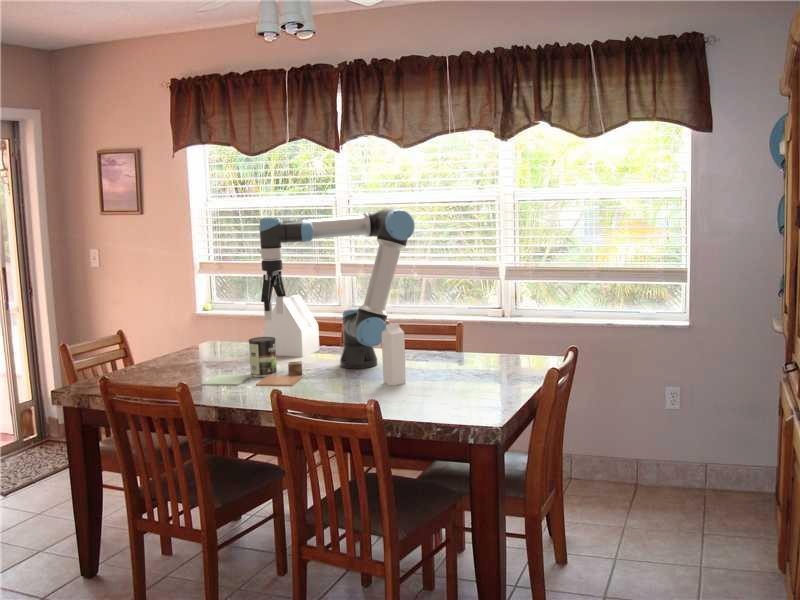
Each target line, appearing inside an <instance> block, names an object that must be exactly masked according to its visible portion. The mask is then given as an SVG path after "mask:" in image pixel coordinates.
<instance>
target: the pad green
mask: <svg viewBox="0 0 800 600" xmlns="http://www.w3.org/2000/svg"><path fill="white" fill-rule="evenodd" d="M251 377H252V376H251V374H249V375H248V374H216V375H214V376H212V377H211V378H209V379H207V380H206V381H204V382H203V383H202V384H201V385H202V386H239V385H241V384H243V383H244V382H245V381H246V380H248V379H250V378H251Z"/></svg>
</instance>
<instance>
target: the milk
mask: <svg viewBox="0 0 800 600" xmlns="http://www.w3.org/2000/svg"><path fill="white" fill-rule="evenodd" d="M405 345H406V344H405V331H404V330H403V329H402V328H401V327H400V323H399V322H396V323H388V324H386V329H385V330H384V331H383V332H382V343H381V353H382V378H383V379H382V382H383V384H385V383H387V384H386V385H389V384H390V385H389V386H392V385H394V386H398V385H397V384H399V385H404V384H406V383H407V380H406V379H407V378H406V373H407V372H406V355H405V354H406V348H405Z"/></svg>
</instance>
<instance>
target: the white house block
mask: <svg viewBox="0 0 800 600" xmlns="http://www.w3.org/2000/svg"><path fill="white" fill-rule="evenodd" d="M283 300H284V314H277V309H276V304H275V305H274V307H273V308H272V318H273V320H266V323H265V325H264V327H263V328H262V332H263V336H262V337H274V338H275V347H276V356H280V357H282V356H284V357H296V358H299V357H301V358H303V357H306V356H308V355H310V354H311V355H312V354H313V353H316V352H318V351H320V334H319V333H320V330H319V329H320V328H319V324H318V322H317V320H316V319H315V317H314V315H313V314H312V313H311V310H310V309H309V307H308V306H307V304H306V303H305V301H304V299H303V298H302V296H301V295H300V294H294V295H290V296H289V297H283Z"/></svg>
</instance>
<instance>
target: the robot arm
mask: <svg viewBox="0 0 800 600" xmlns="http://www.w3.org/2000/svg"><path fill="white" fill-rule="evenodd" d="M415 228H416V223H415V220H414V217H413V216H412V214H411V213H410V212H408V211H407V210H404V209H401V208H386V209H380V210H376V211H372V212H371V211H370V212H369V211H368V212H364V213H363V214H362V215H353V216H339V217H338V216H337V217H325V218H313V219H301V220H284V221H281V218H280V217H278V216H277V217H274V216H272V217H261V218H260V220H259V231H258V232H259V235H260V236H259V240H260V241H259V243H260V251H259V253H260V256H261V270H262V271H263V272H266V274H262V277H263V278H262V288H261V290H262V291H261V299H260V302H261V303H263V313H264V315H263V316H264V320H265V321H268V320H273V318H272V311H273V304H272V303H273V302H272V301H271V300H272V295H273V291H275V305H276V309H277V314H284V300H283V298H284V297H286V295H287V294H286V289H285V285H284V280H283V277H282V270H283V261H282V258H283V253H282V251H283V250H282V249H283V248H282V243H283V244H285V243H286V244H287V243H305V242H312V240H314V239H326V238H327V239H328V238H337V237H348V236H350V237H351V236H363V235H364V236H365V237H366V238H367V237H370V238H371V237H377V238H376V241H377V243H378V248H377V252H376V257H375V260H374V263H373V267H372V270H371V271H372V272H371V276H370V278H369V282H368V287H367V290H366V294H365V297H364V302H363V304H362V305H360V306H359V307H358V308H354V309H353V308H352V309H345V310H343V311H342V317H341V319H342V331H343V332H342V335H343V338H342V339H343V348H342V352H341V356H340V360H339V366H340V367H341V368H344V369H367V368H372V367H376V366H378V357H377V355H376V351H375V348H374V347H376V346H379V345H380V344H382V332H383V331H384V330H385V329H386V325H387V324H386V323H387V319H388V313H387V311H386V307H387V304H388V300H389V296H390V292H391V289H392V285H393V282H394V281H393V280H394V278H395V273H396V268H397V265H398V262H399V257H400V254H401V251H402V250H403V249H405V248H406V247H407V243H408V239H409V238H410V237H412V236H413V234H414V231H415Z"/></svg>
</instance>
